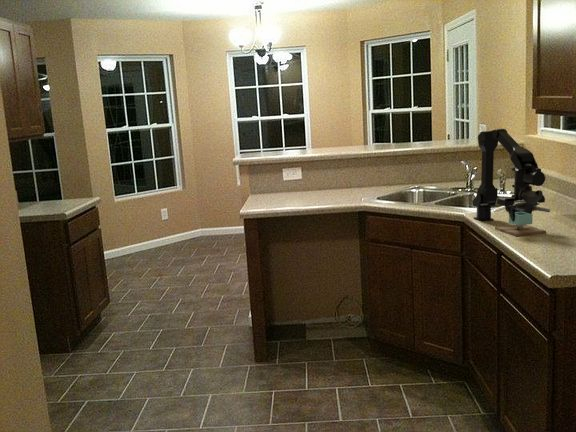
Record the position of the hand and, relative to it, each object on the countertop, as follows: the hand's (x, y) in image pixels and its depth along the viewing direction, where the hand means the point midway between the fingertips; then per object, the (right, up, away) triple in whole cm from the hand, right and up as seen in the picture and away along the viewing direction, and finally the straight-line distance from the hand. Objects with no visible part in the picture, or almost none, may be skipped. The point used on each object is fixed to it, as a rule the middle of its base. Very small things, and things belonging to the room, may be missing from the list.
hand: (520, 220), depth 241 cm
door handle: (+21, +4, +42) cm, 47 cm away
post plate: (0, -4, +1) cm, 5 cm away
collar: (0, -1, 0) cm, 1 cm away
